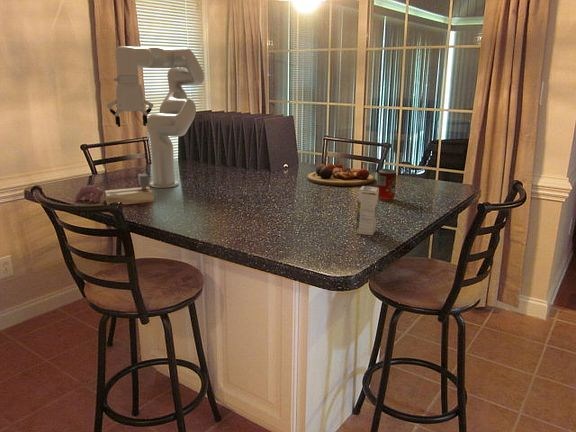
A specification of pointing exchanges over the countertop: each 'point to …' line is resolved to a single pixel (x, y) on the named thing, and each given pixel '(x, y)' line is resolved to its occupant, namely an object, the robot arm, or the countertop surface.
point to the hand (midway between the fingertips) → (132, 126)
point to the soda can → (386, 184)
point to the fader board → (129, 195)
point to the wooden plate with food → (340, 176)
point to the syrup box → (367, 210)
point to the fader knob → (143, 180)
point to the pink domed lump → (86, 193)
